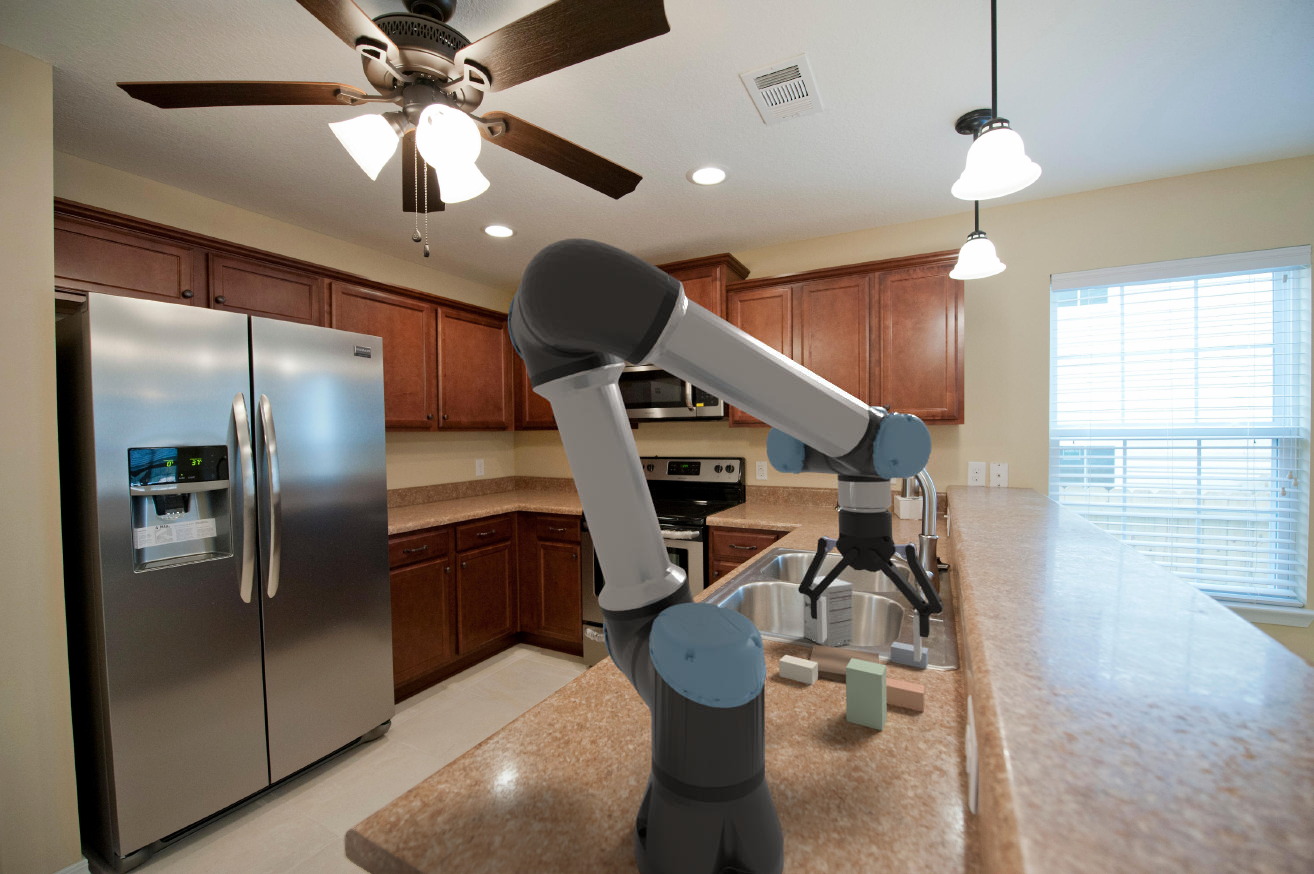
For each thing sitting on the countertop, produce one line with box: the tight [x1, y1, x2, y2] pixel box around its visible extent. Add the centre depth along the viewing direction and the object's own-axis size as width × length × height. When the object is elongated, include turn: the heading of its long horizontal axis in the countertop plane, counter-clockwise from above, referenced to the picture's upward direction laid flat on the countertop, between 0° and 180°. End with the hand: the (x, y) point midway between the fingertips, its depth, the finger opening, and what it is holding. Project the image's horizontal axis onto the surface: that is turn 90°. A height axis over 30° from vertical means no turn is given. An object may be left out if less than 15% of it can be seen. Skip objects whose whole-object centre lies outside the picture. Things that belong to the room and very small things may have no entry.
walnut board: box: [809, 644, 880, 682], centre depth 95 cm, size 12×12×1 cm
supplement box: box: [803, 575, 854, 648], centre depth 109 cm, size 7×7×13 cm
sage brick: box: [845, 658, 888, 731], centre depth 77 cm, size 4×5×8 cm
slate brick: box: [890, 641, 929, 670], centre depth 97 cm, size 6×3×3 cm, turn 55°
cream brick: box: [778, 654, 819, 686], centre depth 91 cm, size 6×3×3 cm, turn 55°
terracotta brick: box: [886, 677, 926, 712], centre depth 82 cm, size 6×3×3 cm, turn 59°
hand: (868, 648), depth 77 cm, fingers open, 13 cm apart
